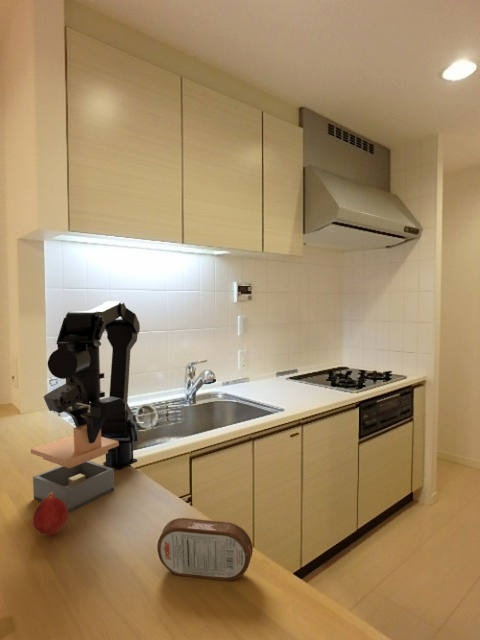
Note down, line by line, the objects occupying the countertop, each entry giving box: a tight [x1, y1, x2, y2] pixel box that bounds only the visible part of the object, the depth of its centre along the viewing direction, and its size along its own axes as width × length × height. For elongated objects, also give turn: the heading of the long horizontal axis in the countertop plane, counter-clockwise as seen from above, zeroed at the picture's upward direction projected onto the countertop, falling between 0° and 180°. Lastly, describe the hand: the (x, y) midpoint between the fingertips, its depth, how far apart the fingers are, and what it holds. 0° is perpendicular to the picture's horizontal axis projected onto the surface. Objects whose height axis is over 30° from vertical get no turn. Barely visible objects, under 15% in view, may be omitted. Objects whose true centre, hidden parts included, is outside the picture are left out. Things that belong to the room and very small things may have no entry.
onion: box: [32, 493, 69, 537], centre depth 74 cm, size 6×6×8 cm
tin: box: [156, 517, 254, 582], centre depth 63 cm, size 15×3×8 cm, turn 80°
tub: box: [32, 460, 115, 514], centre depth 90 cm, size 12×12×5 cm
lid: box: [30, 424, 119, 468], centre depth 89 cm, size 13×13×8 cm
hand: (87, 441), depth 86 cm, fingers closed on lid, 2 cm apart
